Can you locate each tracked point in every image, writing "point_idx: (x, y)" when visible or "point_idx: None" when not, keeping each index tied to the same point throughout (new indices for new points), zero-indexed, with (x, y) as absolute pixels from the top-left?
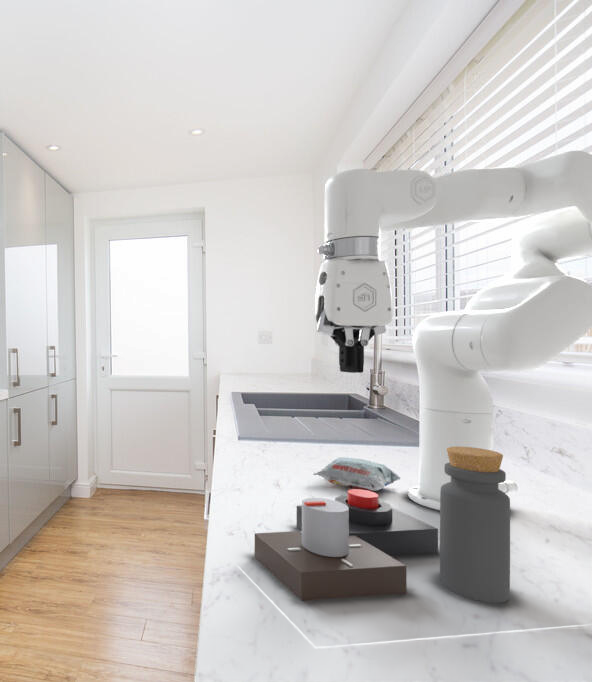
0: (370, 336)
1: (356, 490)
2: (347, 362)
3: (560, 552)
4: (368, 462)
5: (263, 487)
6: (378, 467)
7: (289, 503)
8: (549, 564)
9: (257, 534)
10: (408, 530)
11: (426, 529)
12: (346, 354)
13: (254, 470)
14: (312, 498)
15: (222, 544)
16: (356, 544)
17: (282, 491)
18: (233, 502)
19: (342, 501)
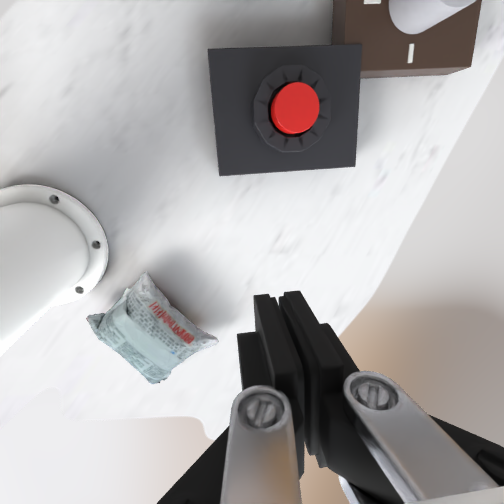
0: (192, 485)
1: (298, 123)
2: (324, 329)
3: (16, 47)
4: (132, 337)
5: None
6: (128, 315)
7: (298, 255)
8: (69, 8)
9: (470, 60)
10: (258, 48)
11: (227, 49)
12: (345, 355)
13: None
14: (459, 3)
15: (461, 118)
16: (370, 1)
17: None
18: (371, 260)
19: (320, 120)
